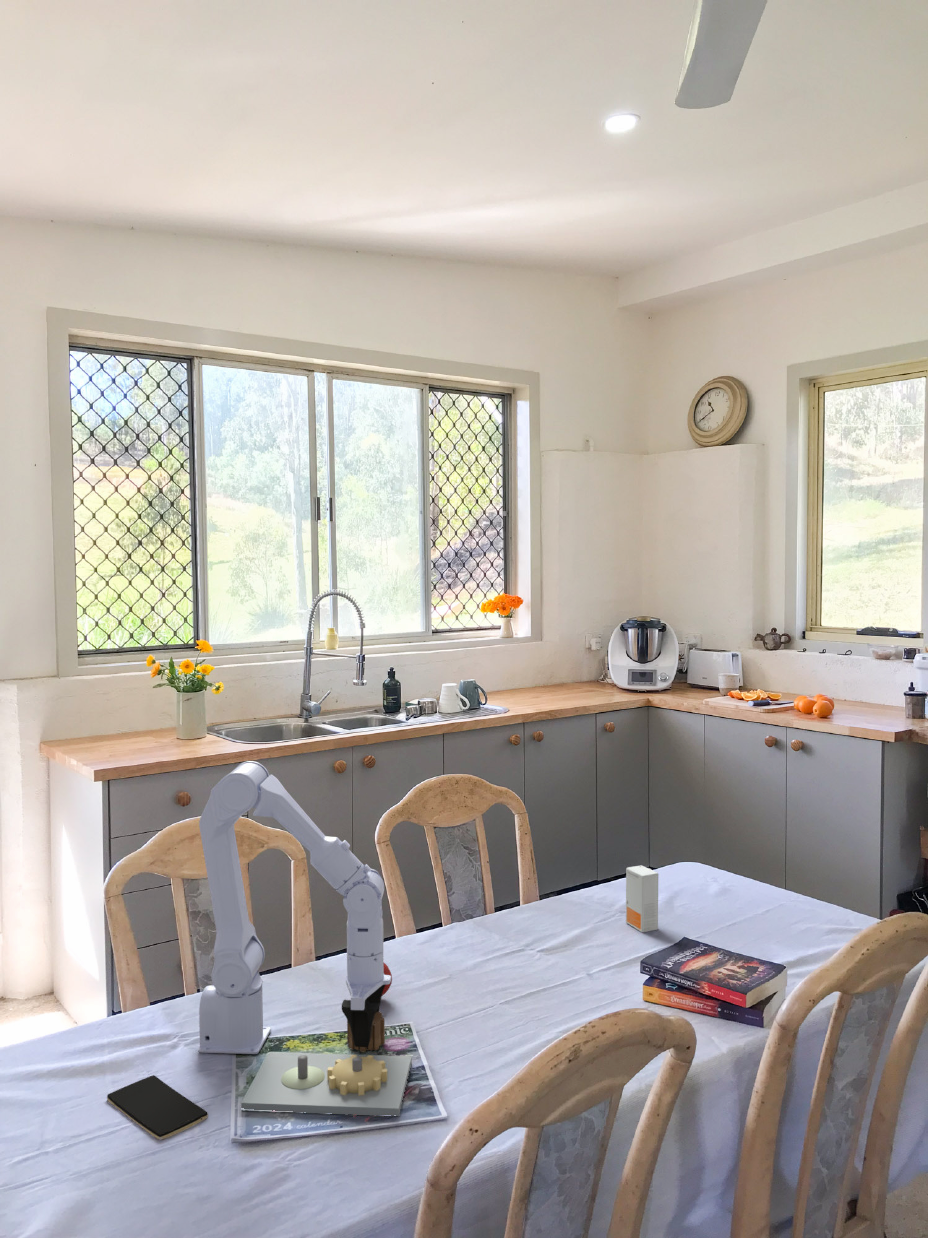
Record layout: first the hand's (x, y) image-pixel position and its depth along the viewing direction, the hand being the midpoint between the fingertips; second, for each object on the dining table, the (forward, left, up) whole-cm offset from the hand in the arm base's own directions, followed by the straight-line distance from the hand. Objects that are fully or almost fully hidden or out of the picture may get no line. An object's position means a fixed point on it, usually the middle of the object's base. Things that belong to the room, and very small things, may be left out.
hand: (366, 1034), depth 152 cm
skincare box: (+49, +52, -2) cm, 71 cm away
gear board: (-3, -13, -1) cm, 13 cm away
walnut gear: (0, 0, -1) cm, 1 cm away
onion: (-1, +15, -2) cm, 15 cm away
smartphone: (-26, -20, -2) cm, 33 cm away
